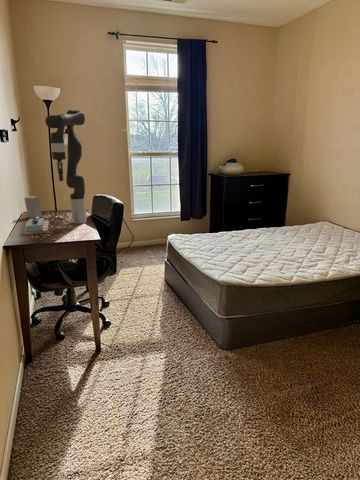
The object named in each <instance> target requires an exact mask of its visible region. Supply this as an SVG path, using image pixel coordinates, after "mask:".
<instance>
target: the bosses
mask: <svg viewBox="0 0 360 480" xmlns="http://www.w3.org/2000/svg"><path fill="white" fill-rule="evenodd" d="M39 218H40V217H33V218H32V219H34V220H32V222H34V225H37V223H38V219H39Z"/></svg>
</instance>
